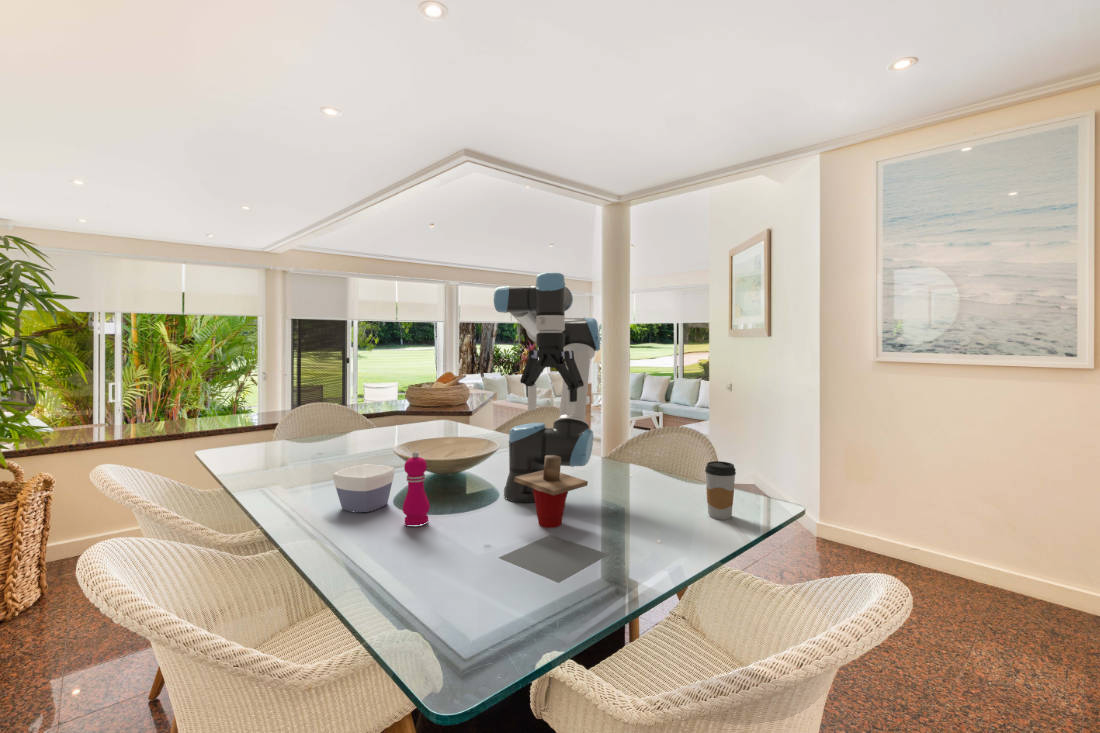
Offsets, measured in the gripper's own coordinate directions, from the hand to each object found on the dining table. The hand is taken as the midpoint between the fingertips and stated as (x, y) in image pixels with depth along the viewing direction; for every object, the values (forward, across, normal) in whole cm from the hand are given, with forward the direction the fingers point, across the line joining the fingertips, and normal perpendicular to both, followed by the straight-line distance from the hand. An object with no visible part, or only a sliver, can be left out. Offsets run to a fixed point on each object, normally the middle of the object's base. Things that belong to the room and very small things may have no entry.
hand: (550, 412), depth 135 cm
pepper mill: (+31, -30, -22) cm, 49 cm away
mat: (+31, +14, -15) cm, 37 cm away
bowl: (+31, -54, -24) cm, 67 cm away
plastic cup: (+31, 0, 0) cm, 32 cm away
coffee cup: (+31, +31, +38) cm, 58 cm away
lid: (+19, 0, 0) cm, 19 cm away
